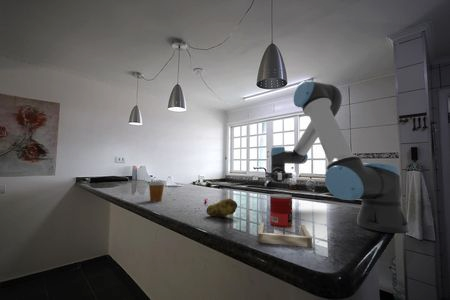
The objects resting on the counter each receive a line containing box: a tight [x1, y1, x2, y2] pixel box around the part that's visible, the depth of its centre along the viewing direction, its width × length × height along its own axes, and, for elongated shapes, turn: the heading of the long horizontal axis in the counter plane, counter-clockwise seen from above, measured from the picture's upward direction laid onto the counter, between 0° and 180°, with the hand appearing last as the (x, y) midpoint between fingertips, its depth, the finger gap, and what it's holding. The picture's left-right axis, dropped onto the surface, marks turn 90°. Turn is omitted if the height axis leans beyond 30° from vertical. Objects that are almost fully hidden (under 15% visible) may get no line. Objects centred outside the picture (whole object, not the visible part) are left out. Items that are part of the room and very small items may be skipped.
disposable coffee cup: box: [148, 180, 165, 202], centre depth 126 cm, size 10×10×12 cm
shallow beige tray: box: [257, 221, 313, 248], centre depth 64 cm, size 14×13×2 cm
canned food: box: [269, 193, 293, 229], centre depth 78 cm, size 8×8×11 cm
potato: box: [205, 198, 238, 218], centre depth 88 cm, size 8×13×8 cm, turn 53°
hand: (280, 176), depth 86 cm, fingers closed
